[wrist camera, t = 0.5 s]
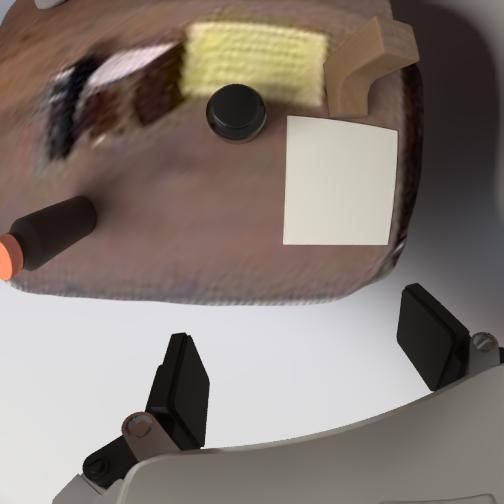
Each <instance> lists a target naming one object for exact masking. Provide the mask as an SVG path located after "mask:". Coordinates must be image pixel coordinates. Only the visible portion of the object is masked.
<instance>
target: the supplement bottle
mask: <svg viewBox="0 0 504 504" xmlns="http://www.w3.org/2000/svg"><path fill="white" fill-rule="evenodd" d="M266 117H267V107H266V103H265V101H264V99H263V97H262V96H261V95H260V93H258V92H257V91H256V90H255V89H253V88H251V87H249V86H246V85H243V84H231V85H227V86H224V87H222V88H221V89H219V90H218V91H216V92H215V93H214V94H213V95H212V97H211V98H210V100H209V102H208V104H207V108H206V118H207V121H208V124H209V126H210V128H211V129H212V130H213V131H214V132H215V134H216V135H217V136H218V137H219V138H221V139H222V140H223V141H225V142H227V143H230V144H244V143H247V142H249V141H251V140H252V139H253V138H255V137H256V136H257V134H258V133H259V131H260V130H261V128H262V127H263V125H264V123H265V120H266Z"/></svg>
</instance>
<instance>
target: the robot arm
mask: <svg viewBox="0 0 504 504" xmlns="http://www.w3.org/2000/svg"><path fill="white" fill-rule="evenodd" d="M469 332H470V331H468V329H467V328H466V327H465V326H464V325H463V324H462V323H461V322H459V320H457V319H456V318H455V317H454V316H453V315H452V314H451V313H450V312H449V311H448V310H447V309H446V308H445V307H444V306H443V305H442V304H441V303H440V302H439V301H437V300H436V299H435V298H434V297H433V296H432V295H431V294H430V293H429V292H427V291H426V290H425V289H424V288H423V287H422V286H421V285H420V284H418V283H414V284H411V285H407V286H406V287H405V289H404V290H403V291H402V298H401V306H400V315H399V323H398V330H397V342H398V344H399V345H400V346H401V348H402V349H403V351H404V352H405V353H406V355H407V357H408V358H409V359H410V361H411V362H412V364H413V365H414V367H415V368H416V370H417V371H418V372H419V374H420V376H421V377H422V379H423V380H424V382H425V383H426V385H427V386H428V388H429V389H430V390H431V391H434V392H433V393H431V394H429V395H427V396H424V397H422V398H420V399H418V400H415V401H413V402H411V403H408V404H406V405H404V406H401V407H399V408H396V409H393V410H391V411H388V412H386V413H383V414H380V415H377V416H374V417H371V418H369V419H366V420H362V421H359V422H356V423H353V424H350V425H346V426H343V427H339V428H335V429H331V430H328V431H324V432H319V433H315V434H311V435H306V436H302V437H297V438H291V439H286V440H280V441H274V442H268V443H260V444H253V445H244V446H235V447H226V448H225V447H224V448H210V449H200V448H201V447H204V445H205V434H206V421H207V409H208V398H209V385H210V382H209V378H208V375H207V373H206V371H205V368H204V366H203V364H202V361H201V359H200V356H199V354H198V352H197V349H196V347H195V344H194V342H193V339H192V337H191V335H187V334H186V333H176V334H172V335H171V338H170V342H169V345H168V348H167V351H166V354H165V358H164V361H163V364H162V365H160V366H158V369H157V371H156V375H155V378H154V381H153V385H152V388H151V391H150V395H149V398H148V402H147V405H146V409H145V412H136V413H134V414H131V415H130V416H128V417H127V418H126V419H125V421H124V422H123V424H122V430H121V431H122V434H123V435H122V436H120V437H118V438H117V439H115V440H114V441H112V442H110V443H109V444H107V445H106V446H104V447H102V448H101V449H99V450H98V451H96V452H94V453H92V454H91V455H89V456H88V457H87V458H86V459H85V461H84V463H83V473H82V474H81V475H79V474H77V475H76V476H75V477H74V478H73V479H72V480H71V481H70V482H69V483H68V484H67V486H65V487H64V488H63V489H62V490H61V492H60V493H59V494H58V495H57V496H56V497H55V498H54V499H53V502H52V504H504V348H503V347H499V345H498V341H497V339H496V338H495V337H494V336H493V335H492V334H490V333H487V332H478V333H476V334H474V335H473V336H472V337H471V336H470V335H469Z"/></svg>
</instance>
